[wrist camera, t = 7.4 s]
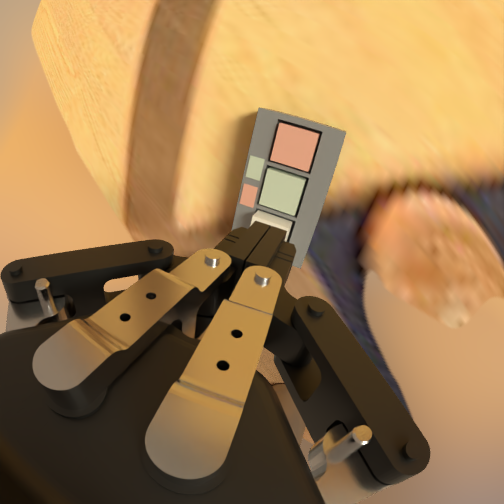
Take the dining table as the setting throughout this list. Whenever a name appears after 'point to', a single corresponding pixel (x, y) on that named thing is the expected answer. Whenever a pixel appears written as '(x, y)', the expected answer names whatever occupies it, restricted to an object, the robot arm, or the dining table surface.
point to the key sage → (282, 190)
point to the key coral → (295, 146)
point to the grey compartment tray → (316, 176)
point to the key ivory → (272, 221)
